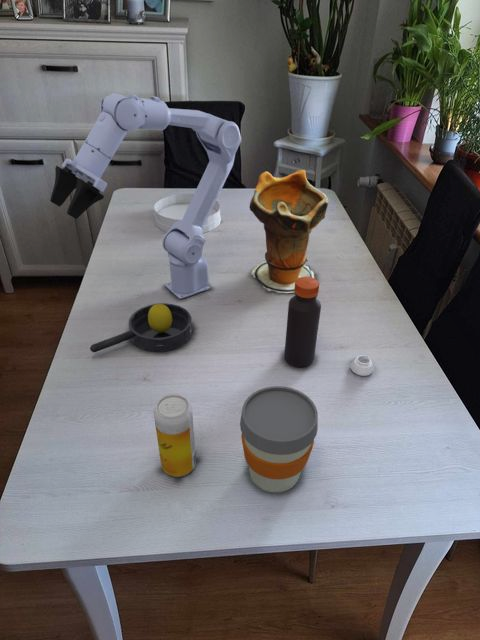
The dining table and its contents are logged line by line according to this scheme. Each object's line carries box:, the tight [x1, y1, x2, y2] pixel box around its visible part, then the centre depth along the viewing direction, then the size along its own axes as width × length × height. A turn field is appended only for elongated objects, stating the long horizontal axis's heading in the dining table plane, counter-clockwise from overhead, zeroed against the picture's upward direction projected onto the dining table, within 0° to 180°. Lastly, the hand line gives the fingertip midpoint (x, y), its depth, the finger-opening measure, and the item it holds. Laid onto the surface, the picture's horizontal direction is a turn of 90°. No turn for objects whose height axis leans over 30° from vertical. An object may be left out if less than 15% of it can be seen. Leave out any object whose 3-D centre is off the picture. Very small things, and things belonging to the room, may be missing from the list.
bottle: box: [283, 277, 322, 368], centre depth 104 cm, size 7×7×20 cm
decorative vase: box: [249, 169, 330, 294], centre depth 129 cm, size 21×23×28 cm
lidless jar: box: [349, 354, 375, 377], centre depth 108 cm, size 5×3×5 cm
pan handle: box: [89, 330, 134, 353], centre depth 108 cm, size 10×2×2 cm, turn 128°
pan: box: [128, 302, 193, 352], centre depth 115 cm, size 14×14×4 cm
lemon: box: [148, 303, 172, 333], centre depth 113 cm, size 6×6×8 cm
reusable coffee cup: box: [239, 385, 319, 493], centre depth 81 cm, size 13×13×15 cm
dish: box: [153, 193, 221, 236], centre depth 164 cm, size 22×22×5 cm
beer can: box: [153, 393, 197, 478], centre depth 82 cm, size 6×6×15 cm
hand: (63, 210), depth 98 cm, fingers open, 7 cm apart
